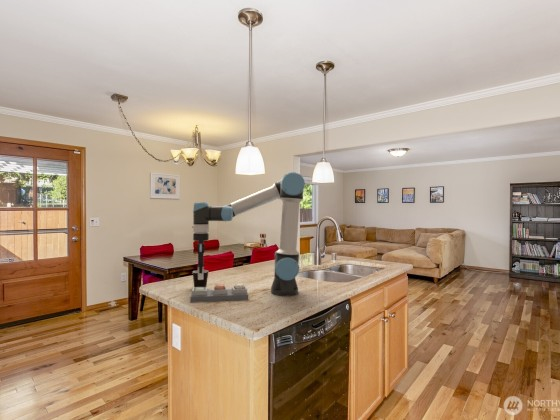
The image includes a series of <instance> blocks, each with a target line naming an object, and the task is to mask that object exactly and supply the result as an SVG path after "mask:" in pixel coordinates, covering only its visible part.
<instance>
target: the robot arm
mask: <svg viewBox="0 0 560 420" xmlns="http://www.w3.org/2000/svg"><path fill="white" fill-rule="evenodd" d="M305 187H306V181H305V179H304V177H303V176H302V174H300V173H298V172H295V171H291V172H287V173H285V174H284V175H283V176H282V178H281V179H280V180H278V181H276V182H274V183H273V184H272V186H269V187H267V188H264V189H262V190H259V191H257V192H254V193H252V194H249V195H248V196H245V197H243V198H240V199H238V200H236V201H234V202H231V203H228V204H226V205H223V206H222V205H221V206H220V205H219V206H218V205H217V206H211V205H210V204H209V202H205V201H203V202H202V201H201V202H199V201H198V202H197V201H196V202H194V203H193V210H192V212H193V213H192V214H193V219H192V220H193V225H192V226H191V228H192V230H193V231H192V232H193V235H192V236H193V238H192V240H193V241H194V242H198V243H197V244H196V249H197V251H196V253H197V265H196V268H197V270H198V280H203V274H204V270H205V269H204V268H205V267H204V266H205V264H204V254H205V248H206V247H205V246H206V244H205V243H204V242H206V241H209V235H210V233H209V231H210V227H209V225H210V224H209V223H210V222H231V221H232V220H233V218H235V217H237V216H239V215H241V214H244V213H246V212H249V211H251V210H253V209H255V208H258V207H262V206H263V205H267V204H268V203H271V202H273V201H275V200H277V199H279V200H281V201H282V208H281V209H282V210H281V224H280V236H279V237H280V238H279V239H280V240H279V248H278V250H276V251H274V271H273V272H274V273H273V274H274V276H273V277H274V278H273V281H272V285H271V288H270V292H271V294H273V295H276V296H286V295H290V296H295V295H298V294H299V287H298V284H297V280H296V277H297V276H298V274H299V273H300V265H299V262H300V261H299V259H300V252H299V251H298V250H297V244H298V229H299V227H298V226H299V214H300V203H301V202H302V201H303V200H304V198H303V197H304V189H305ZM294 294H295V295H294Z"/></svg>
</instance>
